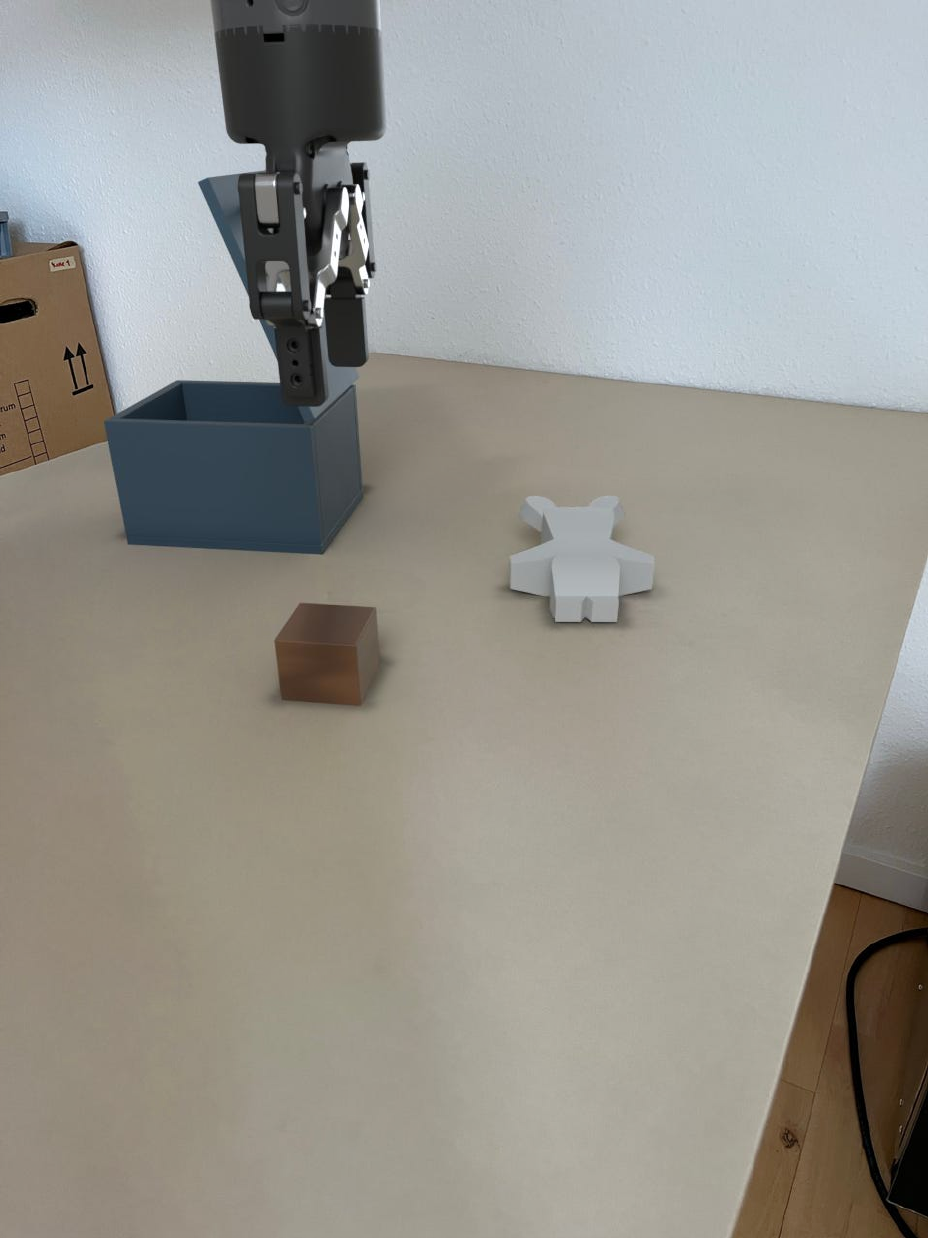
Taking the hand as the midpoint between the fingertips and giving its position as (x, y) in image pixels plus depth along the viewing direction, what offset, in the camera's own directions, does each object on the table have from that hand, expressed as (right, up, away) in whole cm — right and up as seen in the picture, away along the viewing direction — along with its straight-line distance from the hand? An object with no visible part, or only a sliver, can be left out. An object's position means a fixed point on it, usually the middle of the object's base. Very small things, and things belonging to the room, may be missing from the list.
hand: (329, 383), depth 50 cm
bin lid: (-6, +11, +18) cm, 22 cm away
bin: (-10, -4, +27) cm, 29 cm away
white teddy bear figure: (+15, -10, +16) cm, 24 cm away
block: (0, -17, +3) cm, 17 cm away
